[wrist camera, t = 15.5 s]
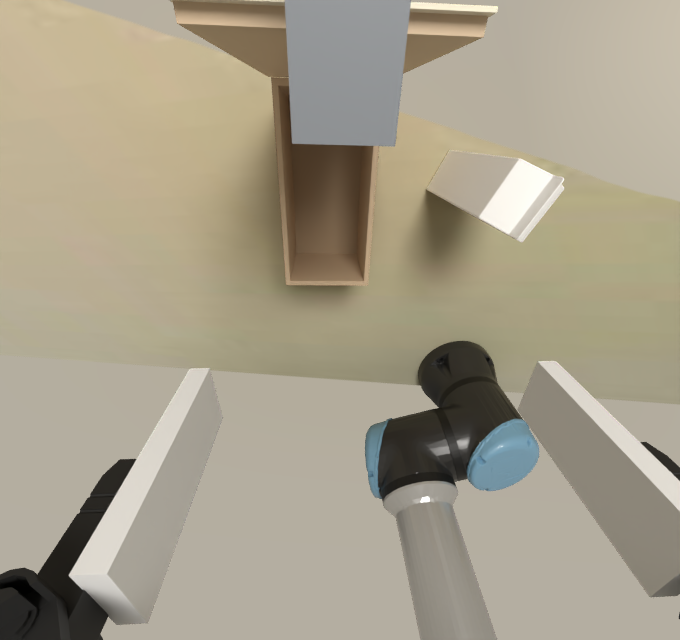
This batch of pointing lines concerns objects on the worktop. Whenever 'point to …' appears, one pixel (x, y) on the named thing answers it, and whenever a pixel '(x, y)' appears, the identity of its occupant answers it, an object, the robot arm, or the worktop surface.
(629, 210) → the worktop surface
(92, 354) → the worktop surface
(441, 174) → the milk
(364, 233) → the carton
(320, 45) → the flap
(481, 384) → the robot arm
